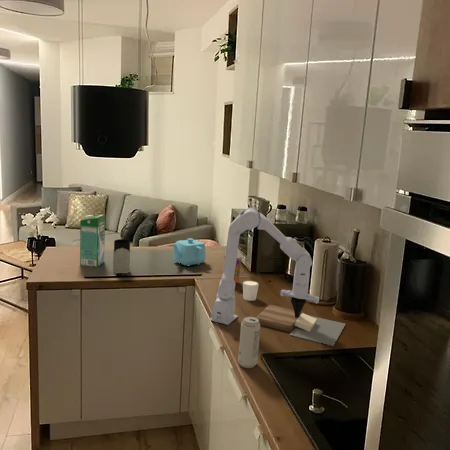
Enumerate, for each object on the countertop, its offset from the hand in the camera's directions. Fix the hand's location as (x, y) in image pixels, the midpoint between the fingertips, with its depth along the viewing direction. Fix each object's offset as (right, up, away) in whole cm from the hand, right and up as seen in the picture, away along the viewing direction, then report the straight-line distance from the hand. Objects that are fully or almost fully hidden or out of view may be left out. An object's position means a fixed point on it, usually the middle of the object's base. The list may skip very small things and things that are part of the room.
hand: (297, 316), depth 184 cm
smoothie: (-25, +7, +44) cm, 51 cm away
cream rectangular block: (+3, -3, -1) cm, 4 cm away
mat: (+8, -4, -3) cm, 9 cm away
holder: (-79, +13, +52) cm, 95 cm away
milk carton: (-94, +15, +58) cm, 112 cm away
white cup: (-17, +3, +25) cm, 31 cm away
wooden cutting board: (-6, -2, +3) cm, 8 cm away
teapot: (-48, +14, +69) cm, 85 cm away
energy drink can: (-21, -9, -32) cm, 40 cm away
